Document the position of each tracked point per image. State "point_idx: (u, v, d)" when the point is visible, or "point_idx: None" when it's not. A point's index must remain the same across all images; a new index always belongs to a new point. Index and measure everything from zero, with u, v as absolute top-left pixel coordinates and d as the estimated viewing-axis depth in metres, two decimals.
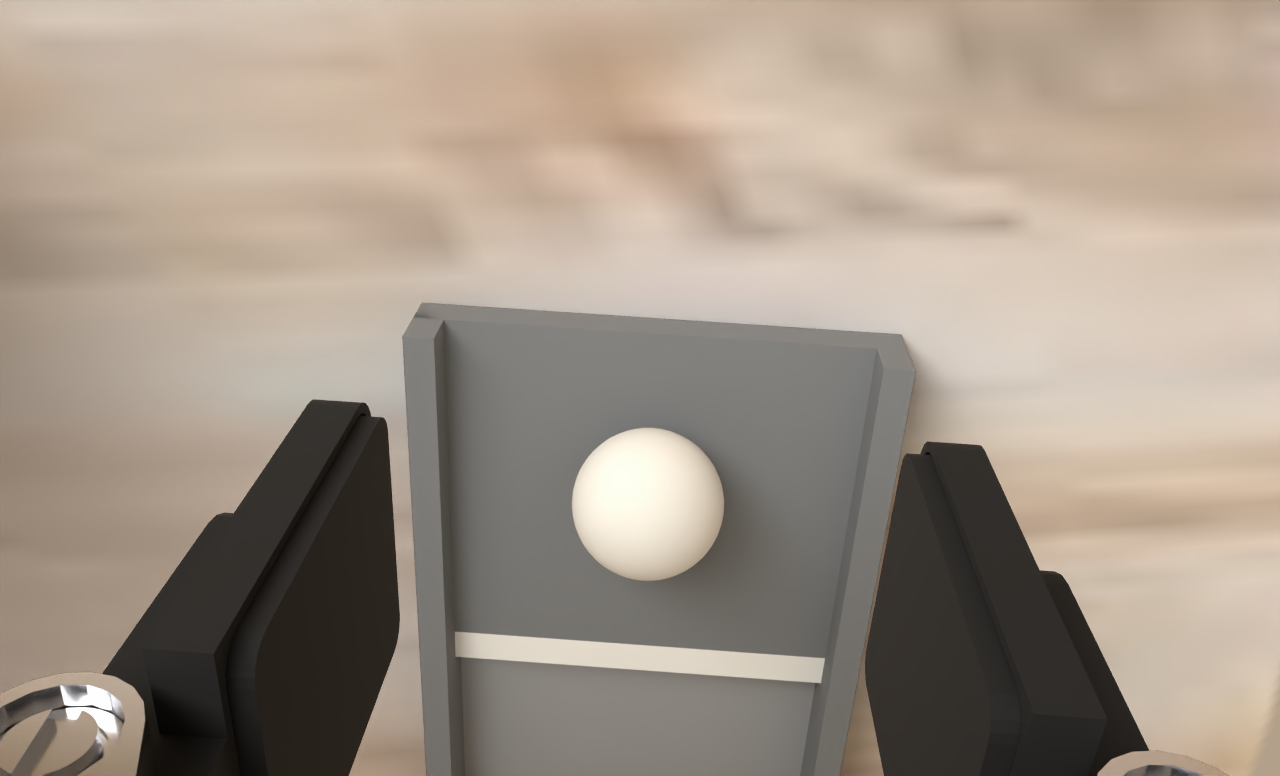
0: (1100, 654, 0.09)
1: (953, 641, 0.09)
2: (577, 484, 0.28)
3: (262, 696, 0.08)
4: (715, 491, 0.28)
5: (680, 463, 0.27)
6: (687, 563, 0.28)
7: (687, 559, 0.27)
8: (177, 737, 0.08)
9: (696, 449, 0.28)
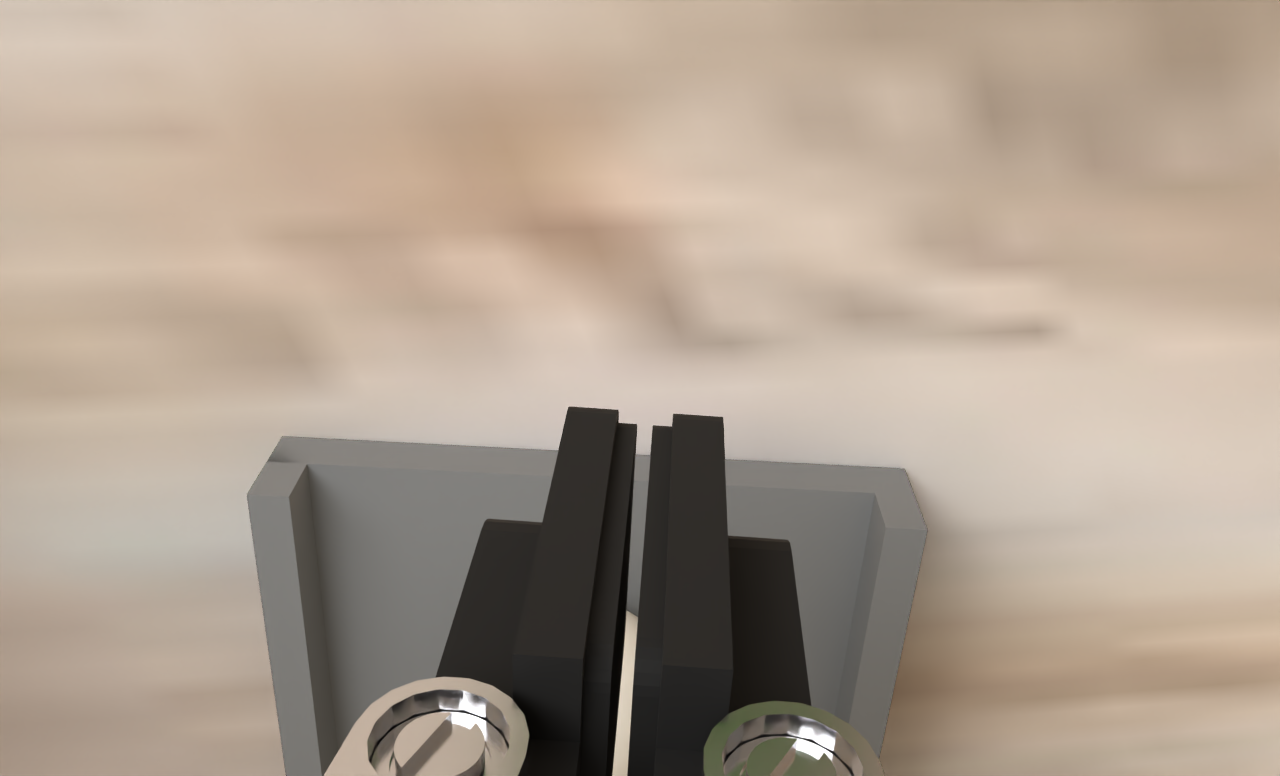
0: (797, 616, 0.09)
1: None
2: None
3: None
4: None
5: None
6: None
7: None
8: (533, 741, 0.08)
9: None
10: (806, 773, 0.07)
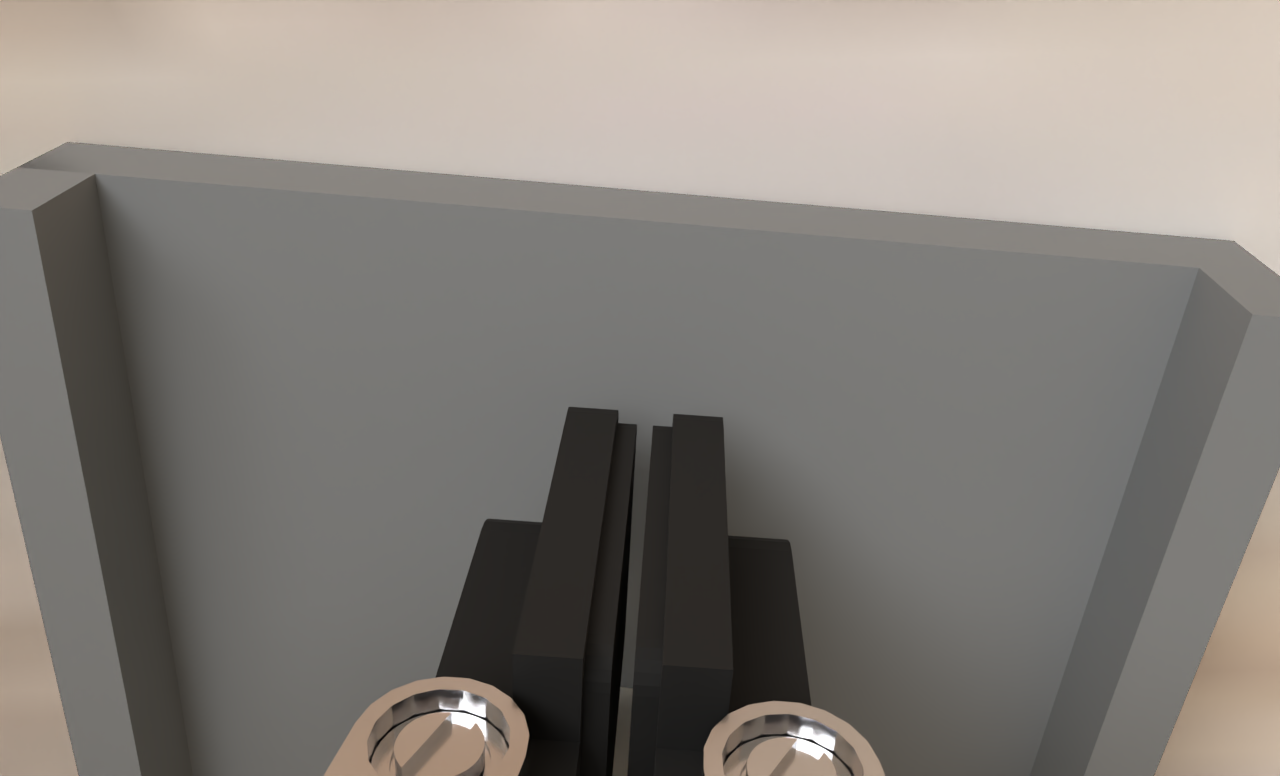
0: (797, 616, 0.09)
1: None
2: None
3: None
4: None
5: None
6: None
7: None
8: (533, 741, 0.08)
9: None
10: (806, 774, 0.07)
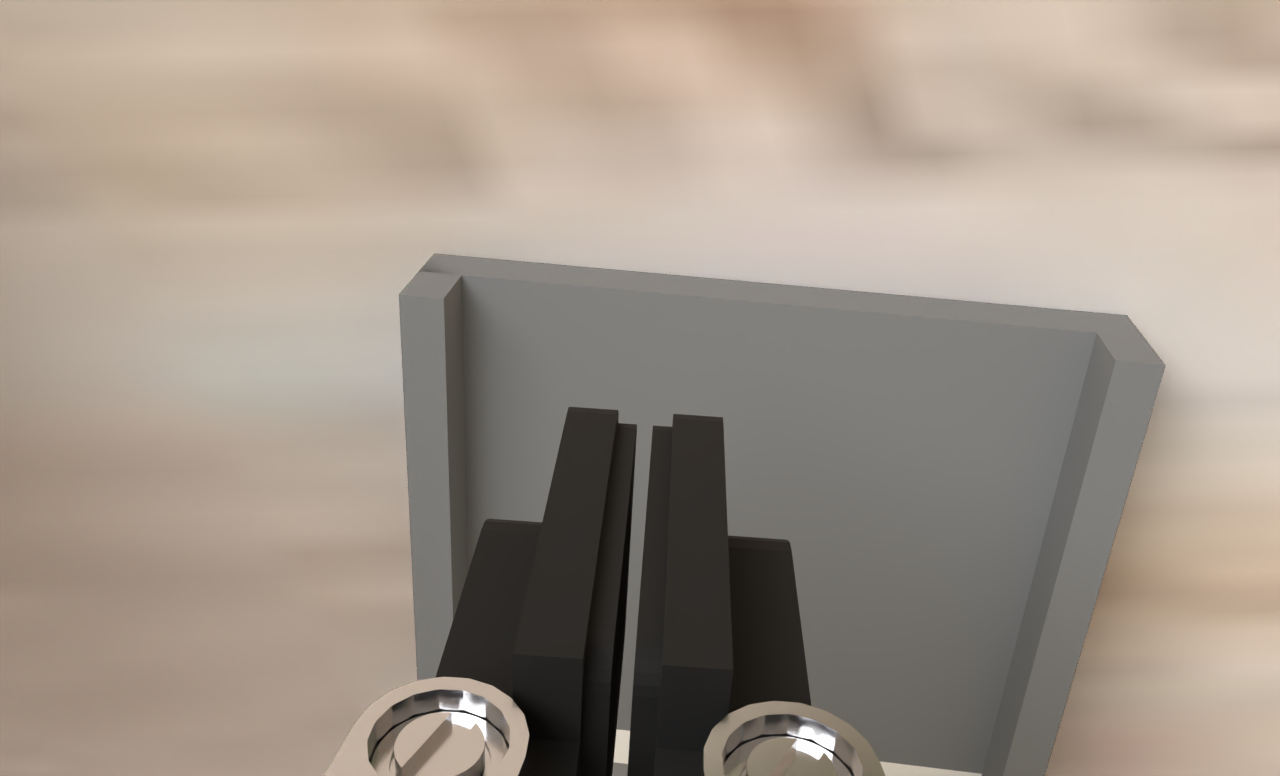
0: (797, 616, 0.09)
1: None
2: None
3: None
4: None
5: None
6: None
7: None
8: (533, 741, 0.08)
9: None
10: (806, 773, 0.07)
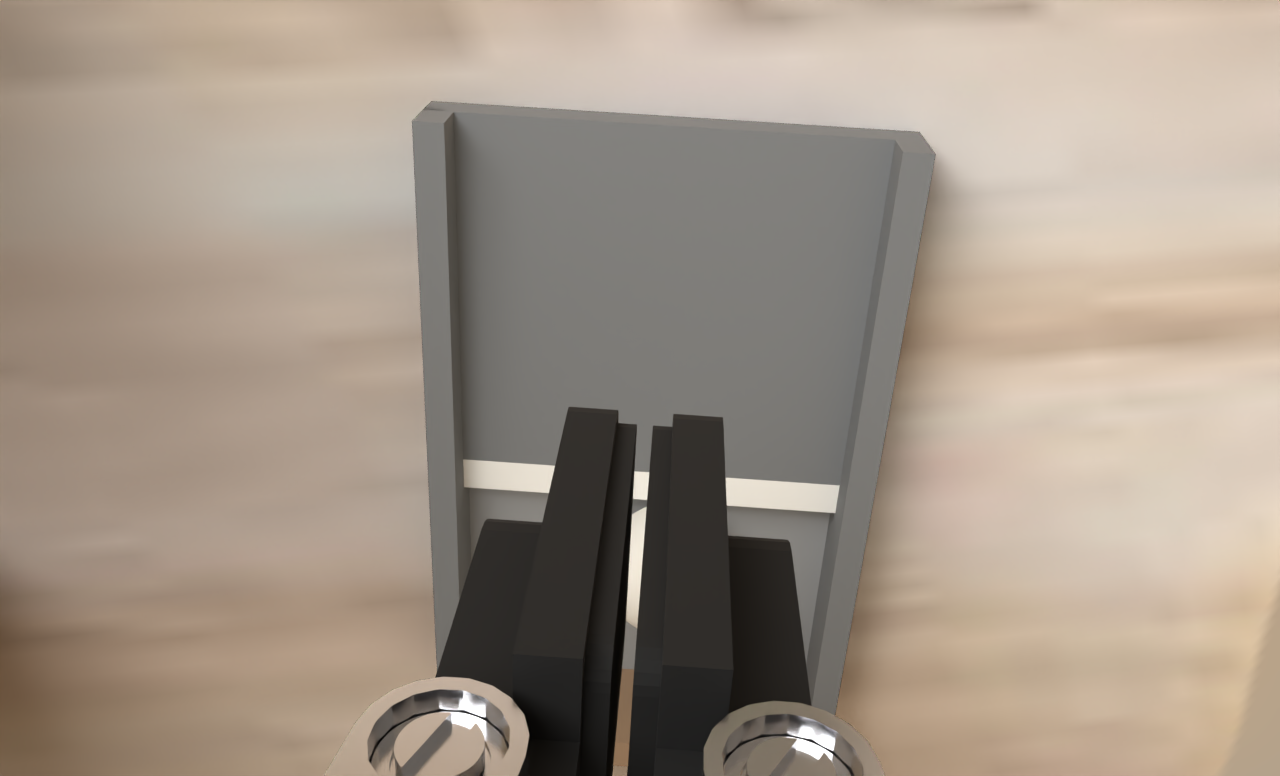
0: (797, 616, 0.09)
1: None
2: None
3: None
4: None
5: None
6: None
7: None
8: (533, 740, 0.08)
9: None
10: (806, 774, 0.07)
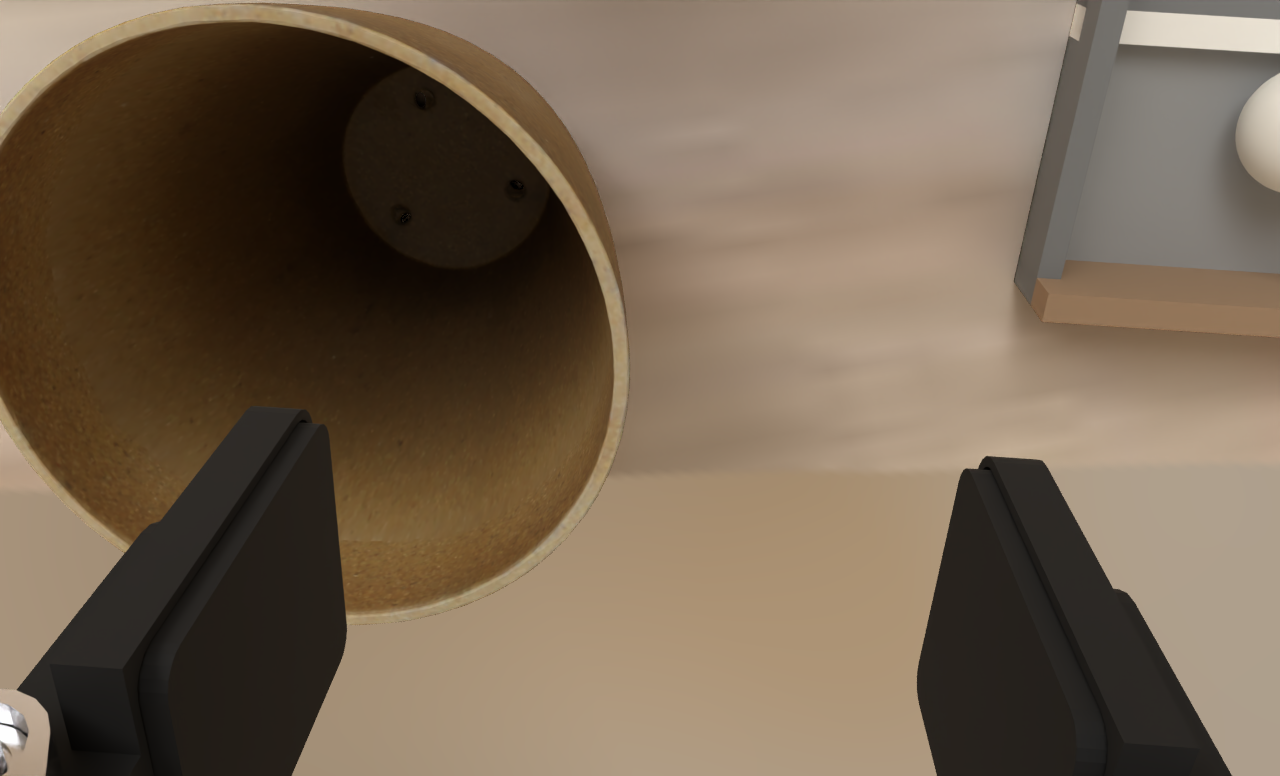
0: (1174, 676, 0.09)
1: (1027, 664, 0.09)
2: (1245, 106, 0.34)
3: (177, 711, 0.08)
4: None
5: None
6: None
7: None
8: (88, 754, 0.08)
9: None
10: None
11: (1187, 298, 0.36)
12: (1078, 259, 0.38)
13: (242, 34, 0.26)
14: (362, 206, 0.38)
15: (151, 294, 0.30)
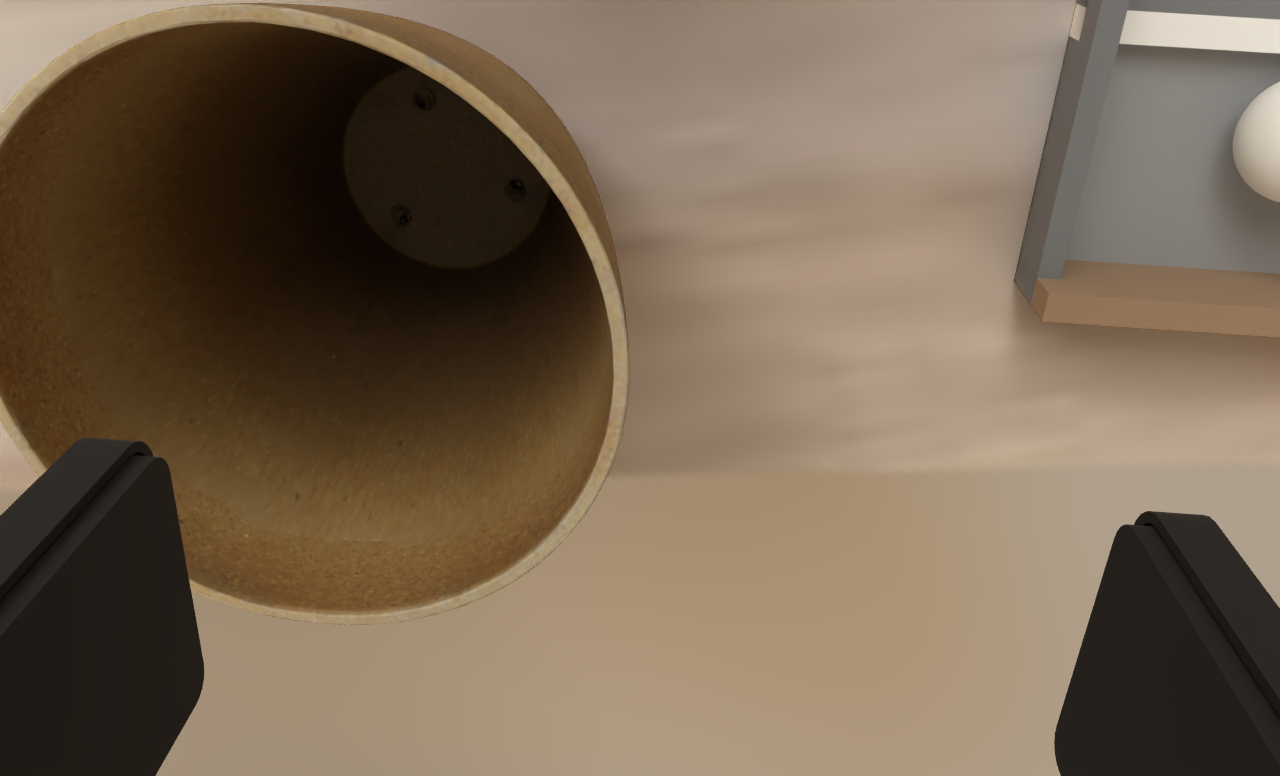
0: None
1: (1235, 753, 0.08)
2: (1244, 114, 0.34)
3: None
4: None
5: None
6: None
7: None
8: None
9: None
10: None
11: (1187, 298, 0.36)
12: (1078, 259, 0.38)
13: (242, 34, 0.26)
14: (362, 206, 0.38)
15: (151, 294, 0.30)
